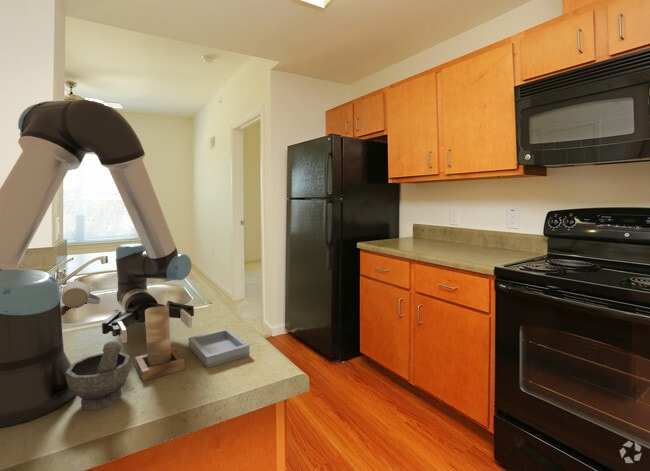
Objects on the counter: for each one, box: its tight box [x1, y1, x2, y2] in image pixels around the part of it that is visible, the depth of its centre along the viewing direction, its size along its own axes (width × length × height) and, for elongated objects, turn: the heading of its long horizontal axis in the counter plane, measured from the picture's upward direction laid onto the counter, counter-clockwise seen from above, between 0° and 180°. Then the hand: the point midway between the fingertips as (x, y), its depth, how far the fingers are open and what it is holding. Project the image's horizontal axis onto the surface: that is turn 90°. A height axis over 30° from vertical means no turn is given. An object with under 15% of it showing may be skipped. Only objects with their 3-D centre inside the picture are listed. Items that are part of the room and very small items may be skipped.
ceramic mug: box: [61, 280, 102, 309], centre depth 118 cm, size 11×8×8 cm
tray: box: [188, 328, 250, 369], centre depth 83 cm, size 10×13×2 cm
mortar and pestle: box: [66, 340, 131, 410], centre depth 63 cm, size 11×9×12 cm
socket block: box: [134, 347, 186, 382], centre depth 75 cm, size 8×8×2 cm
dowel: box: [144, 306, 172, 368], centre depth 75 cm, size 5×5×13 cm
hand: (159, 328), depth 78 cm, fingers open, 13 cm apart
